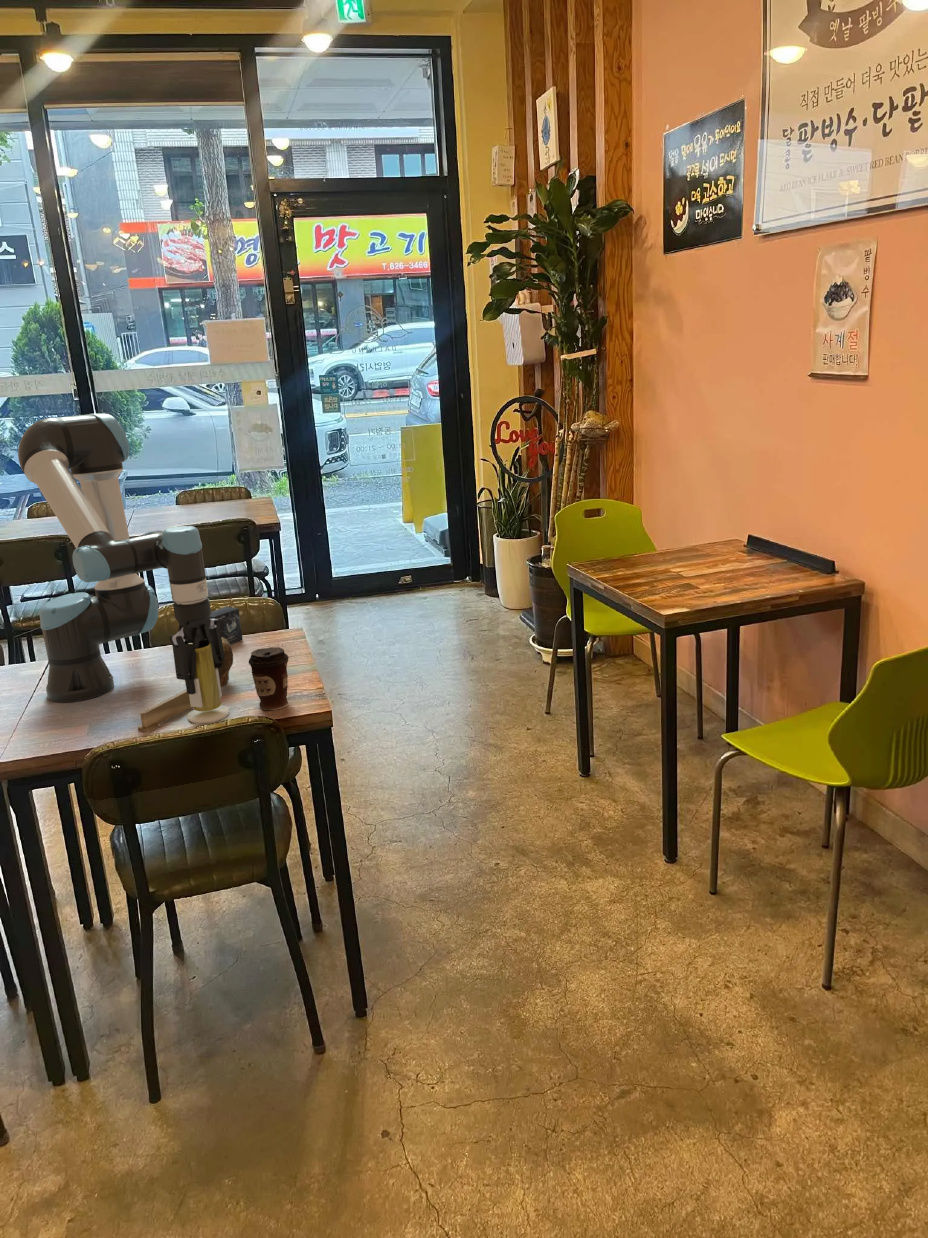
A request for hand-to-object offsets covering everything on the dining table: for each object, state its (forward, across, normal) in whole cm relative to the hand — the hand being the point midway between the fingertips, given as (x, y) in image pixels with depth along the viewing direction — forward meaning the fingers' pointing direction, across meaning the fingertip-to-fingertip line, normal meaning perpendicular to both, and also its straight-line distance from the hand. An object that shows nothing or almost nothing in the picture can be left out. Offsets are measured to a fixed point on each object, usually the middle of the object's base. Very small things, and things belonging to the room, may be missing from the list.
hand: (206, 700), depth 197 cm
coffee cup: (+4, +9, -11) cm, 15 cm away
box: (+4, +43, +31) cm, 53 cm away
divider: (+3, -2, +8) cm, 9 cm away
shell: (+4, +16, +12) cm, 20 cm away
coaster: (+3, 0, 0) cm, 3 cm away
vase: (+2, 0, 0) cm, 2 cm away
